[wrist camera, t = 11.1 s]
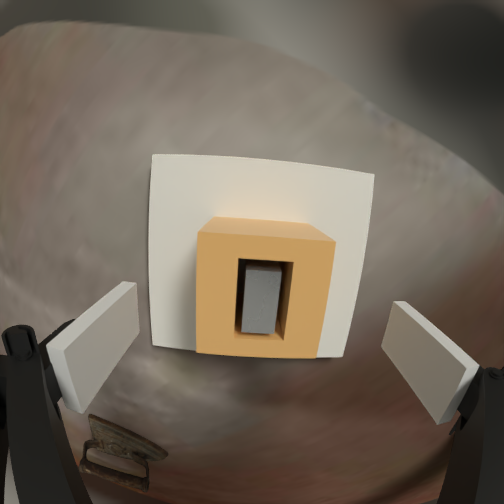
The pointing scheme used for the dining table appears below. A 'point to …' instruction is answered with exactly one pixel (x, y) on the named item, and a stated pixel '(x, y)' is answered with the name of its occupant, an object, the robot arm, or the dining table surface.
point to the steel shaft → (260, 295)
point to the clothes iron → (119, 452)
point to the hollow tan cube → (290, 295)
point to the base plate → (251, 207)
